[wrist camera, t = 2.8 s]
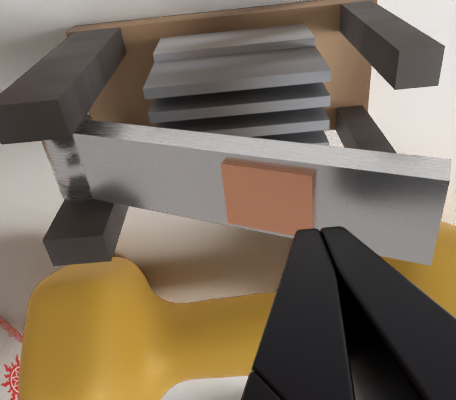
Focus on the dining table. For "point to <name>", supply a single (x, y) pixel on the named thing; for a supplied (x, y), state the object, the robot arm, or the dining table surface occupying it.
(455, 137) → the dining table surface
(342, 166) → the grey bar
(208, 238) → the dining table surface
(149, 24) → the grey and tan frame
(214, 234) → the dining table surface
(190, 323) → the dumbbell
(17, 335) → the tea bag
